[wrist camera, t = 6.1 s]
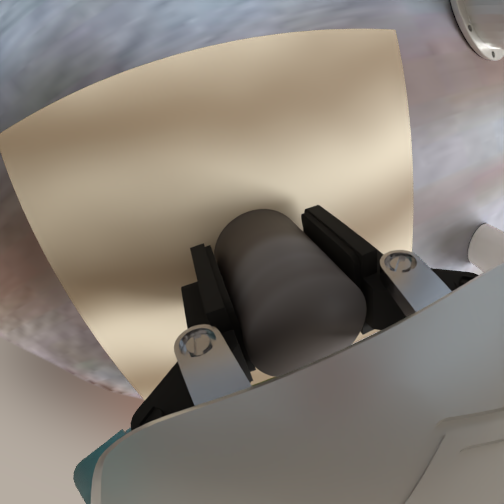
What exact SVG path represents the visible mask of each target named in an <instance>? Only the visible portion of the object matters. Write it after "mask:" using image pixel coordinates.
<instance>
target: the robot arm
mask: <svg viewBox="0 0 504 504" xmlns="http://www.w3.org/2000/svg"><path fill="white" fill-rule="evenodd" d="M450 2H451V5H452V9H453V12H454V15H455V18H456V20H457V23H458V25H459V27H460V29H461V31H462V33H463V35H464V37H465V38H466V40H467V41H468V43H469V44H470V46H471V47H472V48H473V49H474V51H475V52H476V53H477V54H479V55H480V56H481V57H483V58H484V59H487V60H495V61H497V60H499V59H501V58H502V57H503V56H504V0H450ZM301 220H302V226H303V232H304V233H305V234H306V235H307V236H308V237H309V238H310V239H311V240H312V241H313V242H314V243H315V244H316V245H317V246H318V247H319V248H320V249H321V250H322V251H323V252H324V253H325V254H326V255H327V256H328V257H329V258H330V259H331V260H332V261H333V262H334V263H335V264H336V265H337V266H338V267H339V268H340V269H341V270H342V271H343V272H344V273H345V274H346V275H347V276H348V277H349V278H350V279H351V280H352V281H353V282H354V283H355V285H356V286H357V287H358V288H359V289H360V290H361V292H362V293H363V295H364V297H365V301H366V308H367V310H366V317H365V322H364V324H363V327H362V329H361V331H360V332H361V333H362V335H364V334H366V333H368V332H370V331H372V330H374V329H377V333H375V334H373V335H371V336H369V337H367V338H365V339H363V340H361V341H359V342H357V343H355V344H353V345H350V346H348V347H346V348H344V349H342V350H340V351H337V352H335V353H333V354H331V355H328V356H326V357H324V358H322V359H319V360H317V361H315V362H312V363H310V364H308V365H305V366H303V367H301V368H298V369H296V370H293V371H291V372H288V373H286V374H283V375H281V376H278V377H276V378H273V379H270V380H268V381H265V382H262V383H260V384H257V385H254V386H252V385H251V384H250V383H251V381H253V378H252V376H251V373H250V372H252V371H255V370H256V368H255V366H254V365H253V363H252V362H251V360H250V358H249V356H248V353H247V350H246V348H245V345H244V342H243V336H242V330H241V327H240V325H239V322H238V319H237V316H236V313H235V311H234V308H233V305H232V302H231V300H230V297H229V294H228V292H227V289H226V286H225V284H224V281H223V278H222V276H221V273H220V270H219V267H218V265H217V262H216V259H215V256H214V254H213V251H212V248H211V245H208V246H206V247H205V245H204V243H203V244H200V245H197V246H194V247H191V248H190V251H191V255H192V259H193V264H194V268H195V272H196V277H197V282H194V283H191V284H188V285H185V286H182V287H181V292H182V299H183V305H184V311H185V317H186V323H187V330H185V331H184V332H182V333H181V334H180V335H179V336H178V338H177V339H176V341H175V344H174V353H175V355H176V358H177V362H176V364H175V365H174V366H173V367H172V368H171V370H170V371H169V372H168V373H167V374H166V376H165V377H164V378H163V379H162V381H161V382H160V383H159V384H158V385H157V387H156V388H155V389H154V390H153V391H152V393H151V394H150V395H149V396H148V397H147V399H146V400H145V401H144V402H143V403H142V405H141V406H140V407H139V408H138V409H137V411H136V412H135V414H134V415H133V417H132V421H131V428H129V429H128V430H127V431H126V432H125V431H124V430H123V429H122V430H121V431H119V432H118V433H117V434H115V435H114V436H113V437H112V438H110V439H109V440H108V441H107V442H106V443H104V444H103V445H101V446H100V447H99V448H98V449H96V450H95V451H94V452H92V453H91V454H90V455H88V456H87V457H86V458H84V459H83V460H82V461H81V462H80V463H79V464H78V465H77V466H76V468H75V471H74V482H75V485H76V487H77V489H78V490H79V492H80V494H81V496H82V497H83V499H84V501H85V502H86V504H504V262H503V263H501V264H498V265H496V266H494V267H492V268H490V269H489V270H487V271H485V272H484V273H482V274H480V275H477V274H474V273H470V272H462V271H452V270H442V269H432V268H429V267H428V266H427V265H426V264H425V263H424V262H423V261H422V260H421V259H420V257H419V256H417V255H416V254H415V253H412V252H410V251H406V250H394V251H390V252H387V253H385V254H383V253H381V252H380V251H379V250H378V249H376V248H375V247H374V246H373V245H371V244H370V243H369V242H367V241H366V240H365V239H364V238H362V237H361V236H360V235H358V234H357V233H356V232H355V231H353V230H352V229H351V228H349V227H348V226H347V225H345V224H344V223H343V222H341V221H340V220H339V219H337V218H336V217H335V216H333V215H332V214H331V213H329V212H328V211H327V210H325V209H324V208H323V207H321V206H320V205H316V206H313V207H310V208H307V209H305V211H304V213H303V214H301Z"/></svg>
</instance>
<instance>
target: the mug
mask: <svg viewBox="0 0 504 504" xmlns="http://www.w3.org/2000/svg"><path fill="white" fill-rule="evenodd" d="M468 259H469V261H470V262H471V263H472V264H473V265H475V266H476V267H477V268H479V269H480V270H482V271H483V272H485V271H487V270H489V269H490V268H492V267H494V266H496V265H498V264H501V263H503V262H504V232H503V231H501V230H499V229H497V228H495V227H493V226H491V225H489V224H483V225H481V226H480V227H479V228H478V229H477V230H476V232H475V233H474V235H473V237H472V239H471V242H470V245H469V248H468Z"/></svg>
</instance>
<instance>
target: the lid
mask: <svg viewBox="0 0 504 504" xmlns="http://www.w3.org/2000/svg"><path fill="white" fill-rule="evenodd" d="M0 152H1V155H2V158H3V161H4V164H5V166H6V169H7V172H8V174H9V177H10V180H11V182H12V185H13V187H14V190H15V192H16V195H17V197H18V199H19V202H20V204H21V206H22V208H23V211H24V213H25V215H26V217H27V219H28V222H29V224H30V226H31V228H32V230H33V232H34V234H35V236H36V238H37V240H38V242H39V244H40V246H41V248H42V250H43V252H44V254H45V256H46V258H47V259H48V261H49V263H50V265H51V267H52V269H53V270H54V272H55V274H56V276H57V277H58V279H59V281H60V283H61V284H62V286H63V288H64V289H65V291H66V293H67V294H68V296H69V298H70V299H71V301H72V302H73V304H74V306H75V307H76V309H77V310H78V312H79V313H80V315H81V316H82V318H83V320H84V321H85V323H86V324H87V326H88V327H89V328H90V330H91V331H92V333H93V334H94V336H95V337H96V339H97V340H98V341H99V343H100V344H101V346H102V347H103V348H104V350H105V351H106V353H107V354H108V355H109V357H110V358H111V359H112V361H113V362H114V363H115V365H116V366H117V367H118V368H119V370H120V371H121V372H122V374H123V375H124V376H125V377H126V379H127V380H128V381H129V382H130V384H131V385H132V386H133V387H134V388H135V390H136V391H137V392H138V393H139V394H140V396H141V397H142V398H143V399H144V400H146V399H147V397H148V396H149V395H150V394H151V393H152V391H153V390H154V389H155V388H156V387H157V385H158V384H159V383H160V382H161V381H162V379H163V378H164V377H165V376H166V374H167V373H168V372H169V371H170V370H171V368H172V367H173V366H174V365H175V364H176V362H177V358H176V355H175V353H174V344H175V341H176V339H177V338H178V336H179V335H180V334H181V333H182V332H184V331H185V330H187V323H186V317H185V311H184V305H183V299H182V292H181V287H182V286H185V285H188V284H191V283H194V282H197V277H196V272H195V268H194V264H193V259H192V255H191V251H190V248H191V247H194V246H197V245H200V244H203V243H204V245H205V247H206V246H208V245H211V248H212V251H213V254H214V256H215V259H216V262H217V265H218V267H219V270H220V273H221V276H222V278H223V281H224V284H225V286H226V289H227V292H228V294H229V297H230V300H231V302H232V305H233V308H234V311H235V313H236V316H237V319H238V322H239V325H240V327H241V330H242V336H243V342H244V345H245V348H246V350H247V353H248V356H249V358H250V360H251V362H252V363H253V365H254V366H255V368H256V370H255V371H252V372H250V373H251V376H252V378H253V381H251V383H250V384H251V385H254V384H256V383H259V382H262V381H265V380H267V379H270V378H273V377H278V376H281V375H283V374H286V373H288V372H291V371H293V370H296V369H298V368H301V367H303V366H305V365H308V364H310V363H312V362H315V361H317V360H319V359H322V358H324V357H326V356H328V355H331V354H333V353H335V352H337V351H340V350H342V349H344V348H346V347H348V346H350V345H352V344H353V343H355V342H357V341H359V340H361V339H363V338H366V337H368V336H370V335H372V334H374V333H376V332H377V329H374V330H372V331H370V332H368V333H366V334H364V335H362V333H361V332H360V331H361V329H362V327H363V324H364V322H365V317H366V310H367V308H366V301H365V297H364V295H363V293H362V292H361V290H360V289H359V288H358V287H357V286H356V285H355V283H354V282H353V281H352V280H351V279H350V278H349V277H348V276H347V275H346V274H345V273H344V272H343V271H342V270H341V269H340V268H339V267H338V266H337V265H336V264H335V263H334V262H333V261H332V260H331V259H330V258H329V257H328V256H327V255H326V254H325V253H324V252H323V251H322V250H321V249H320V248H319V247H318V246H317V245H316V244H315V243H314V242H313V241H312V240H311V239H310V238H309V237H308V236H307V235H306V234H305V233H304V232H303V226H302V220H301V214H303V213H304V211H305V209H307V208H310V207H313V206H316V205H320V206H321V207H323V208H324V209H325V210H327V211H328V212H329V213H331V214H332V215H333V216H335V217H336V218H337V219H339V220H340V221H341V222H343V223H344V224H345V225H347V226H348V227H349V228H351V229H352V230H353V231H355V232H356V233H357V234H358V235H360V236H361V237H362V238H364V239H365V240H366V241H367V242H369V243H370V244H371V245H373V246H374V247H375V248H376V249H378V250H379V251H380V252H381V253H383V254H385V253H387V252H390V251H394V250H406V251H410V252H412V237H413V164H412V145H411V131H410V120H409V110H408V102H407V94H406V86H405V79H404V73H403V67H402V61H401V55H400V50H399V45H398V40H397V35H396V30H389V29H331V30H314V31H301V32H291V33H282V34H274V35H267V36H260V37H254V38H248V39H242V40H237V41H231V42H226V43H222V44H217V45H212V46H208V47H204V48H200V49H196V50H192V51H188V52H184V53H180V54H177V55H173V56H170V57H166V58H163V59H160V60H157V61H154V62H150V63H147V64H144V65H141V66H138V67H136V68H133V69H130V70H127V71H125V72H122V73H119V74H117V75H114V76H111V77H109V78H106V79H104V80H102V81H99V82H97V83H94V84H92V85H90V86H87V87H85V88H83V89H81V90H79V91H76V92H74V93H72V94H70V95H68V96H66V97H64V98H62V99H60V100H58V101H56V102H54V103H52V104H50V105H48V106H46V107H44V108H42V109H40V110H39V111H37V112H35V113H33V114H31V115H30V116H28V117H26V118H24V119H23V120H21V121H19V122H18V123H16V124H14V125H13V126H11V127H9V128H8V129H6V130H5V131H3V132H1V133H0Z"/></svg>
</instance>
